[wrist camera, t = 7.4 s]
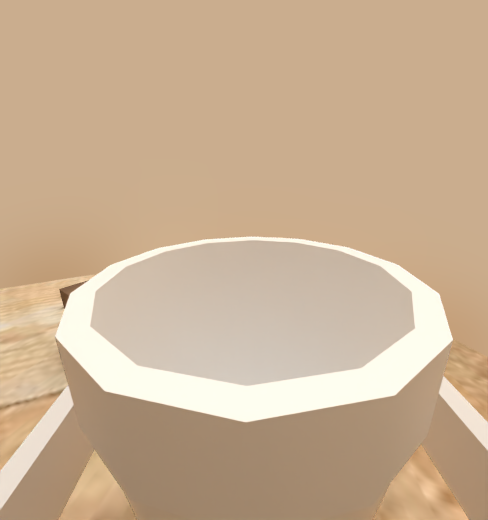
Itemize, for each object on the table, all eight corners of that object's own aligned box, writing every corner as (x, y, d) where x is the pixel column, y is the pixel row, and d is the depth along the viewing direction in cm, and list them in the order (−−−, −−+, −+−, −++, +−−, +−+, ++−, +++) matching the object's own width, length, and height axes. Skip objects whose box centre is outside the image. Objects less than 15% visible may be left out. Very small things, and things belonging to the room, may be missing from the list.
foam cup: (429, 642, 10) (557, 320, 6) (159, 908, 6) (-37, 592, 2) (285, 425, 18) (294, 228, 14) (134, 490, 15) (84, 254, 10)
